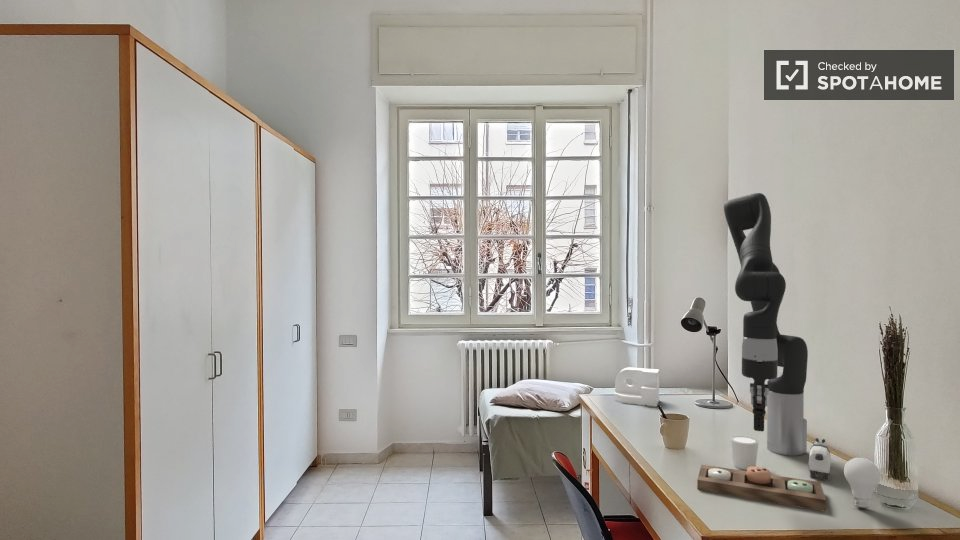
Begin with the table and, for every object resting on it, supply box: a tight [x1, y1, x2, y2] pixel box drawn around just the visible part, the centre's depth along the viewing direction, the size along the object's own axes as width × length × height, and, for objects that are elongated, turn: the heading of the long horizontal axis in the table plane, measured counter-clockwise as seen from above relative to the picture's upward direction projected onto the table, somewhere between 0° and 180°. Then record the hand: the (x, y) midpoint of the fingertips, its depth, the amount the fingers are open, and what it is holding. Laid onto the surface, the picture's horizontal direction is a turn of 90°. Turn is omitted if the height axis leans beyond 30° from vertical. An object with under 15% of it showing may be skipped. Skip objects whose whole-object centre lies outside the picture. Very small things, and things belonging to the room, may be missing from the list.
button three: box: [746, 465, 772, 484], centre depth 133 cm, size 5×5×2 cm
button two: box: [788, 480, 813, 494], centre depth 129 cm, size 5×5×2 cm
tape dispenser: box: [613, 366, 660, 407], centre depth 217 cm, size 16×10×13 cm, turn 68°
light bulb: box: [843, 457, 881, 510], centre depth 123 cm, size 7×7×11 cm
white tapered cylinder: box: [729, 435, 759, 471], centre depth 149 cm, size 7×7×7 cm
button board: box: [696, 464, 827, 512], centre depth 133 cm, size 26×11×2 cm, turn 64°
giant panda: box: [808, 437, 831, 481], centre depth 144 cm, size 12×5×8 cm, turn 147°
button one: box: [708, 468, 731, 481], centre depth 136 cm, size 5×5×2 cm
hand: (758, 430), depth 133 cm, fingers closed
